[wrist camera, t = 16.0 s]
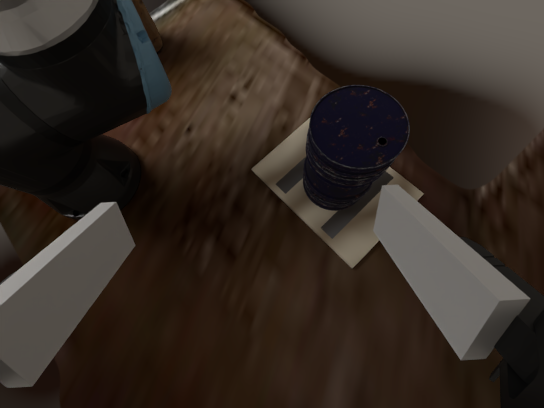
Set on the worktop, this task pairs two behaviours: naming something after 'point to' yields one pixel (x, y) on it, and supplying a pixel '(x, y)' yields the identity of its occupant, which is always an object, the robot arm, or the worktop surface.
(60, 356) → the worktop surface
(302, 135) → the board
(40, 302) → the robot arm
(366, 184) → the dark blue can
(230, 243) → the worktop surface
